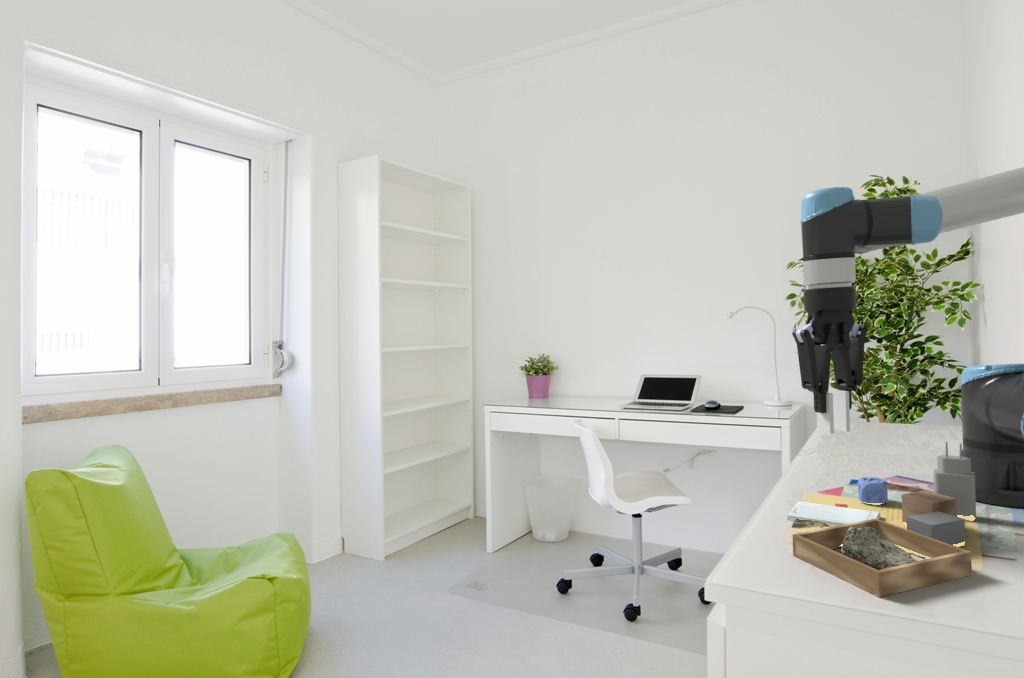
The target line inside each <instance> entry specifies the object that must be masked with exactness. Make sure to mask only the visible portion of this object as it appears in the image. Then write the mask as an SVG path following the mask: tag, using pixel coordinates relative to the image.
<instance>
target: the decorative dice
mask: <svg viewBox="0 0 1024 678" xmlns="http://www.w3.org/2000/svg"><path fill="white" fill-rule="evenodd" d="M857 492H858V493H857V494H858V500H859V502H860V501H862V502H866V503H882V504H883V503H886V504H887V503H888V497H889V496H888V494H889V493H888V485H887V482H886V480H885V479H883V478H880V477H873V476H863V477H860V478H859V479H858V481H857Z"/></svg>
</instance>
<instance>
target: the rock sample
mask: <svg viewBox="0 0 1024 678" xmlns="http://www.w3.org/2000/svg"><path fill="white" fill-rule="evenodd" d="M845 535H846V536H845V538H844V540H843V541H842V542H841V543H842V544H843V546H842V548H840V552H842V554H843V555H845V556H847V557H849V558H852V559H854V560H856V561H859V562H861V563H863V564H865V565H868V566H870V567H872V568H874V569H877V570H881V569H886V568H890V567H894V566H899V565H903V564H908V563H912V562H917V561H918V560H917V559H915V558H913V556H912V554H911V553H908V552H906V551H903V550H902V549H901V548H899V547H898V546H896V545H895V544H894V543H891V542H889V541H887V540H885V539H882V538H881V537H880V535H879V533H878V532H877V530H876V529H873V528H871V527H865V526H864V527H861V528H858V529H856V528H855V527H852V526H851V527H850V528H849V529H848V531H847V532H846V534H845ZM840 547H841V546H840Z"/></svg>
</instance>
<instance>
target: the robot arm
mask: <svg viewBox="0 0 1024 678" xmlns="http://www.w3.org/2000/svg"><path fill="white" fill-rule="evenodd" d="M800 207H801V208H800V209H801V210H800V211H801V212H800V215H801V216H800V220H799V221H800V222H799V223H800V224H801V226H800V227H801V243H802V272H803V273H802V274H803V275H802V277H803V279H802V280H803V282H802V283H803V286H807V289H805V290H804V291H803V309H804V311H805V312H806V313H807V318H806V320H805V325H804V326H802V328H800V329H793V330H792V336H793V339H794V342H795V343H796V349H797V356H798V364H799V372H800V383H801V387H802V389H804V390H808V392H812V393H813V411H814V412H815V413H816V424H817V425H816V426H817V427H816V429H817V432H818V433H823V434H829V435H833V434H835V431H840V432H846V433H849V432H851V415H850V410H852V407H853V404H852V399H853V398H852V392H856V391H857V390H858V386H861V385H862V384H863V375H864V373H863V372H864V360H865V359H864V357H865V342H866V341H865V340H866V337H867V334H868V331H869V326H868V325H865V324H862V325H861V324H858V323H857V322H855V321H856V320H855V317H854V314H853V311H854V310H855V309H856V308H857V289H856V288H855V286H853V284H854V283H855V282H856V281H857V277H856V276H857V275H856V255H858V254H859V255H862V254H867V253H870V252H873V251H877V250H883V249H887V248H892V247H896V246H905V245H911V246H915V245H919V244H927V243H932V242H934V241H935V240H936V239H937V238H938V236H939V235H940V234H944V233H948V232H952V231H956V230H960V229H964V228H967V227H972V226H976V225H980V224H983V223H987V222H992V221H996V220H1000V219H1003V218H1004V219H1005V218H1008V217H1012V216H1015V215H1020V214H1024V166H1021V167H1018V168H1015V169H1012V170H1008V171H1003V172H1000V173H995V174H991V175H988V176H984V177H981V178H977V179H973V180H970V181H969V180H968V181H966V182H965V181H964V182H962V183H958V184H955V185H951V186H947V187H942V188H938V189H936V190H932V191H928V192H924V193H920V194H910V195H905V196H904V195H903V196H894V197H893V196H892V197H883V198H873V199H872V198H871V199H870V198H869V199H855V196H854V190H853V189H852V188H850V187H849V186H841V187H839V186H834V187H826V188H825V187H824V188H819V189H815V190H811V191H808V192H807V193H806V194H804V195H803V197H802V199H801V206H800ZM831 359H832V366H833V373H834V380H835V387H836V388H837V389H832V390H831V391H832V392H829V386H830V373H831ZM960 382H961V383H960V386H959V388H960V397H961V399H960V400H961V425H962V426H961V427H962V428H961V429H962V431H961V432H962V457H967V458H970V459H971V472H974V473H975V488H976V502H980V503H984V504H989V505H996V506H1001V507H1003V506H1004V507H1012V508H1013V507H1014V508H1024V363H1003V364H985V365H983V364H982V365H979V364H978V365H969V366H966V367H965V368H963V369H962V372H961V380H960Z"/></svg>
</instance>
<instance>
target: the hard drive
mask: <svg viewBox="0 0 1024 678" xmlns="http://www.w3.org/2000/svg"><path fill="white" fill-rule="evenodd" d="M879 515H880V516H881V512H880V511H872V510H866V509H859V508H851V507H843V506H835V505H829V504H821V503H820V504H819V503H814V502H806V501H797V502H796V503H795V504H794V505H793V507H792V508H791V509H790V510H789V512H788V513H787V514H786V520H787V521H789V522H795V521H794V520H796V519H799V520H811V521H818V522H822V523H827V524H833V525H839V526H840V525H845V524H850V523H855V522H860V521H866V520H871V519H878V518H879Z"/></svg>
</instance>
